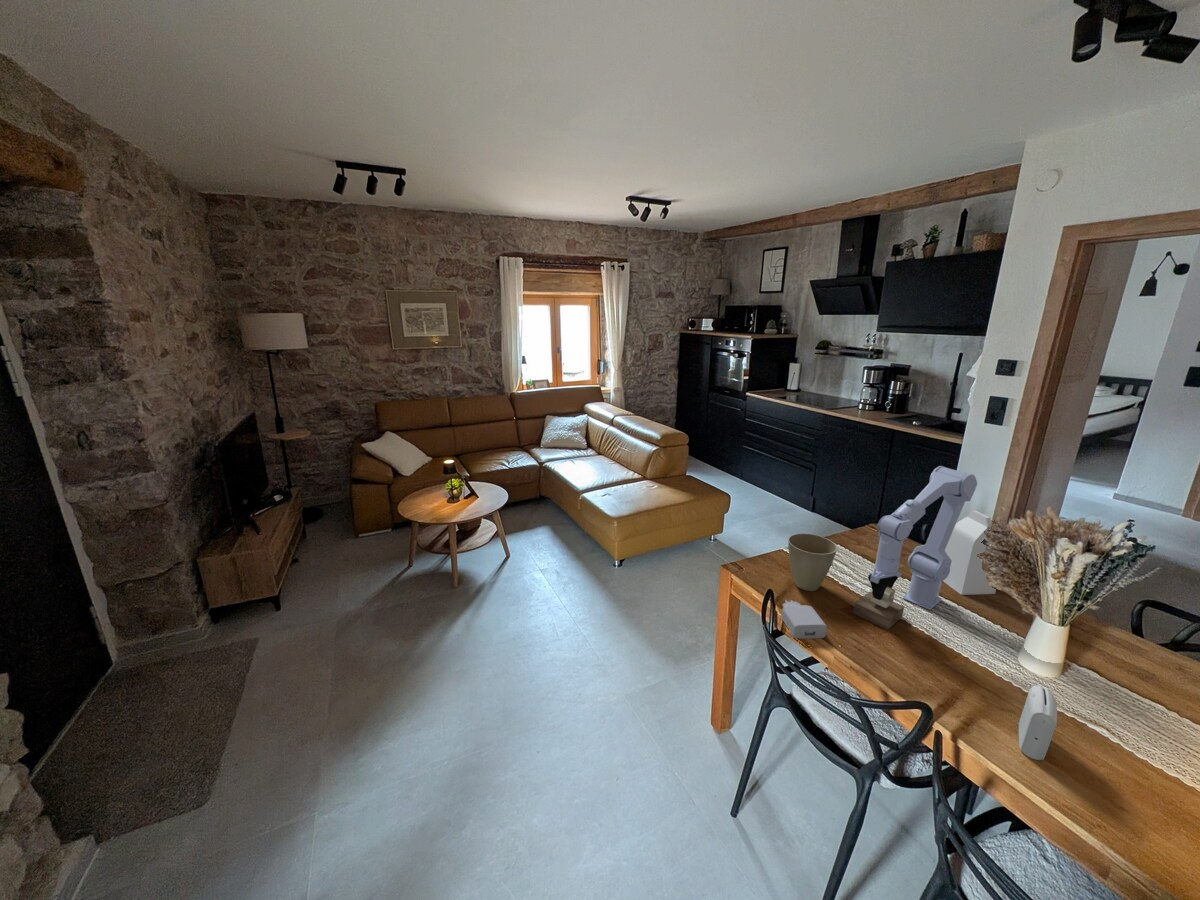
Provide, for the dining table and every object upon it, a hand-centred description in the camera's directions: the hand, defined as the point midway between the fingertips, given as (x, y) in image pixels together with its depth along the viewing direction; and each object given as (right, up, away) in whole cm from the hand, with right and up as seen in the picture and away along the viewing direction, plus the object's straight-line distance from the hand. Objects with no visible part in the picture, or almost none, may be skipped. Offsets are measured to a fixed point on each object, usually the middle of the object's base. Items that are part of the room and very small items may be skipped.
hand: (881, 595), depth 140 cm
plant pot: (-15, -2, +18) cm, 23 cm away
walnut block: (0, -7, +2) cm, 7 cm away
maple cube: (0, -2, 0) cm, 2 cm away
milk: (+39, -2, +18) cm, 43 cm away
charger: (-26, -8, -1) cm, 27 cm away
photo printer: (+8, -19, -40) cm, 45 cm away
